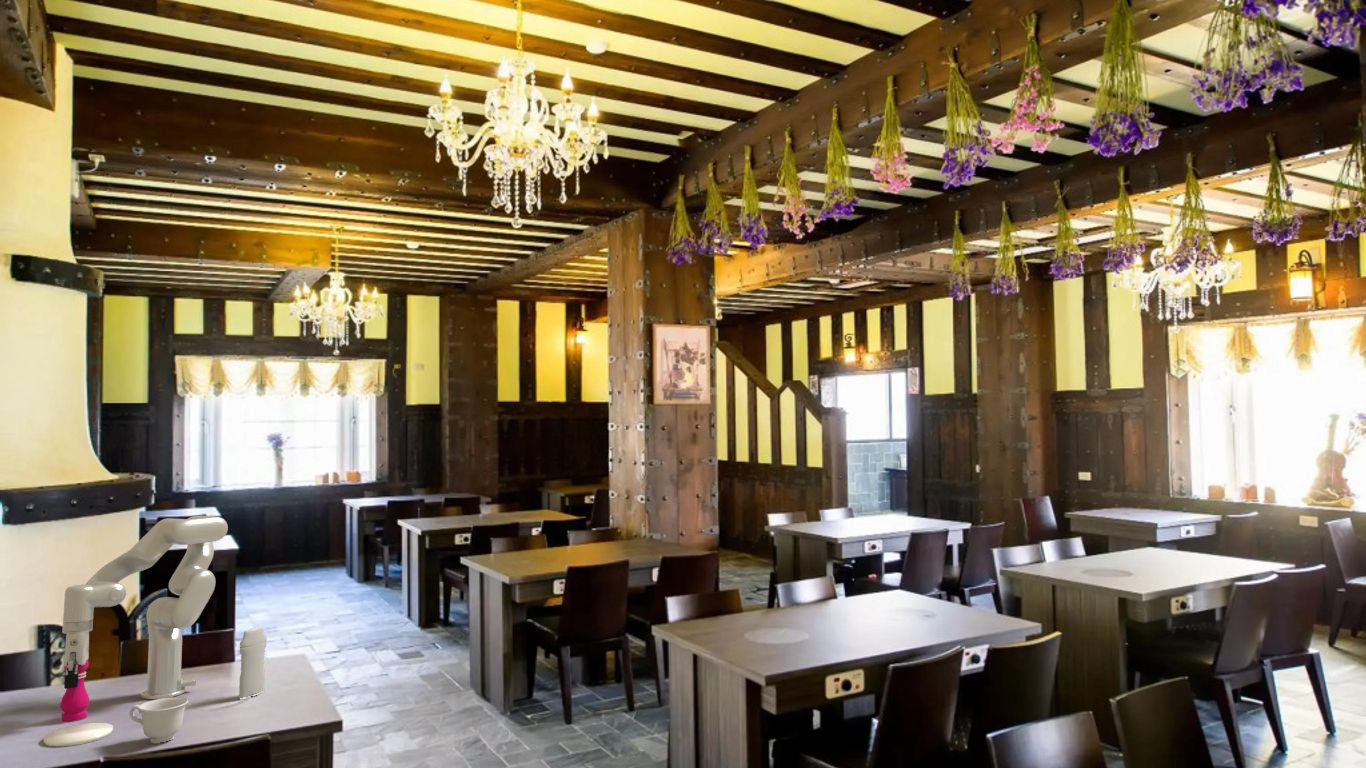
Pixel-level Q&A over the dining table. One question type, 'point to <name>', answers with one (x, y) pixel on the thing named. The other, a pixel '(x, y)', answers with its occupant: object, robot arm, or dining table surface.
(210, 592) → the robot arm
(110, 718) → the dining table surface
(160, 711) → the teacup
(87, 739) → the plate
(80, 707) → the pepper mill
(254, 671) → the tall pale column
